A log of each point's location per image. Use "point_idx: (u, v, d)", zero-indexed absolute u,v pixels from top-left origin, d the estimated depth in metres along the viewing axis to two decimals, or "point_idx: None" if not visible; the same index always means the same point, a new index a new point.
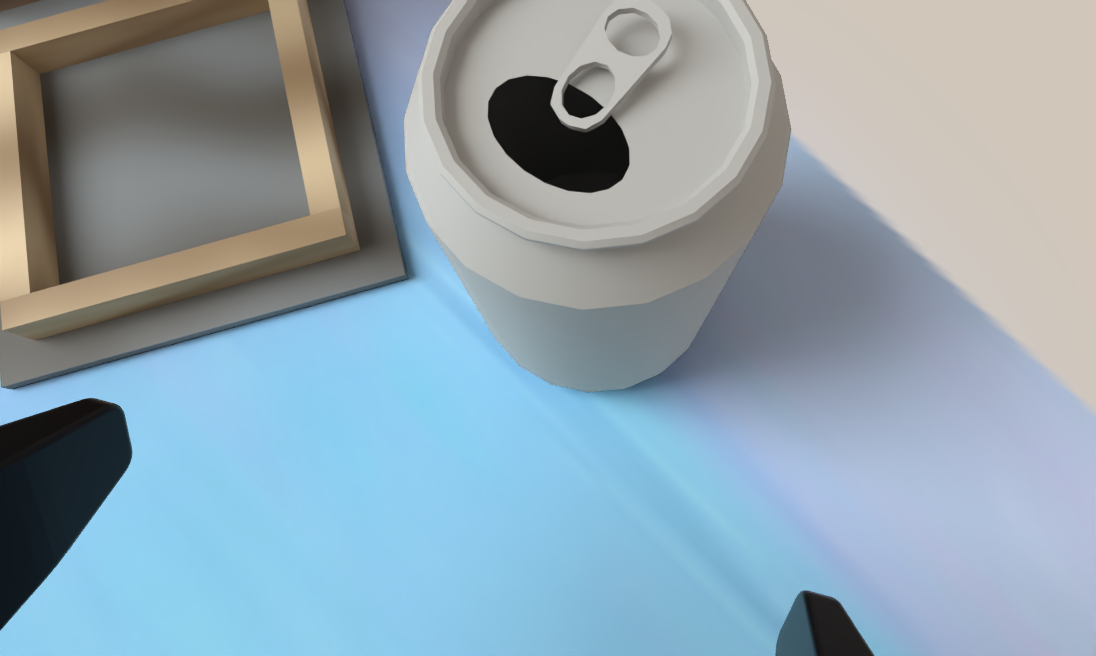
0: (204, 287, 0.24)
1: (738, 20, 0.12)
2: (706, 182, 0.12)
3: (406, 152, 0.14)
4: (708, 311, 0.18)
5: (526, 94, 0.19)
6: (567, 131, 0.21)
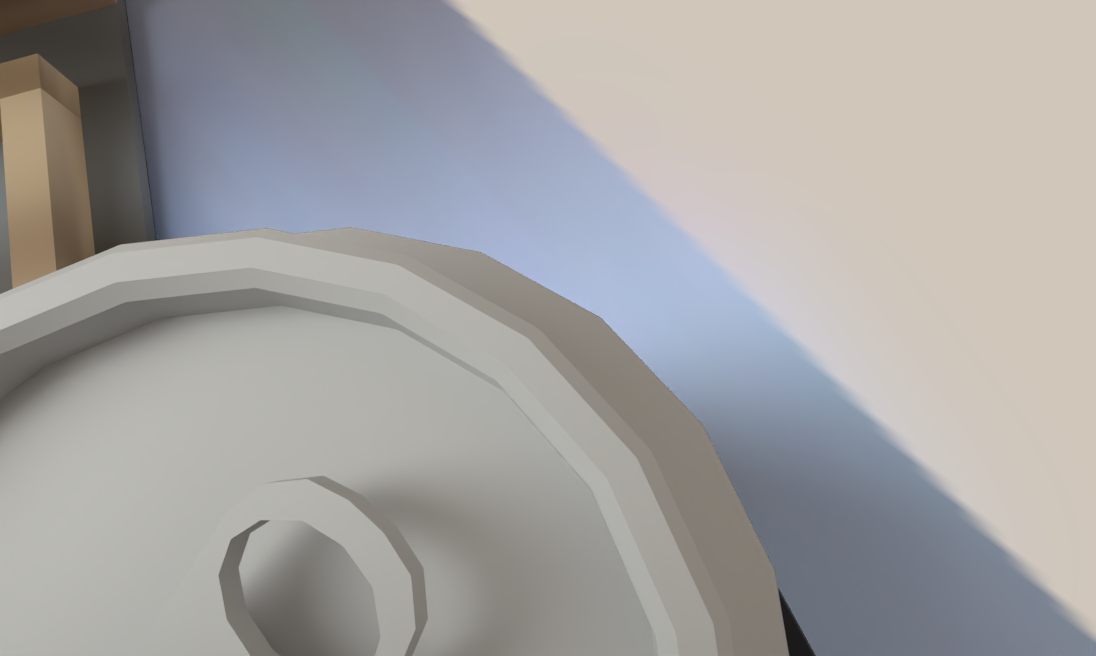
0: None
1: (639, 558, 0.04)
2: None
3: None
4: None
5: None
6: None
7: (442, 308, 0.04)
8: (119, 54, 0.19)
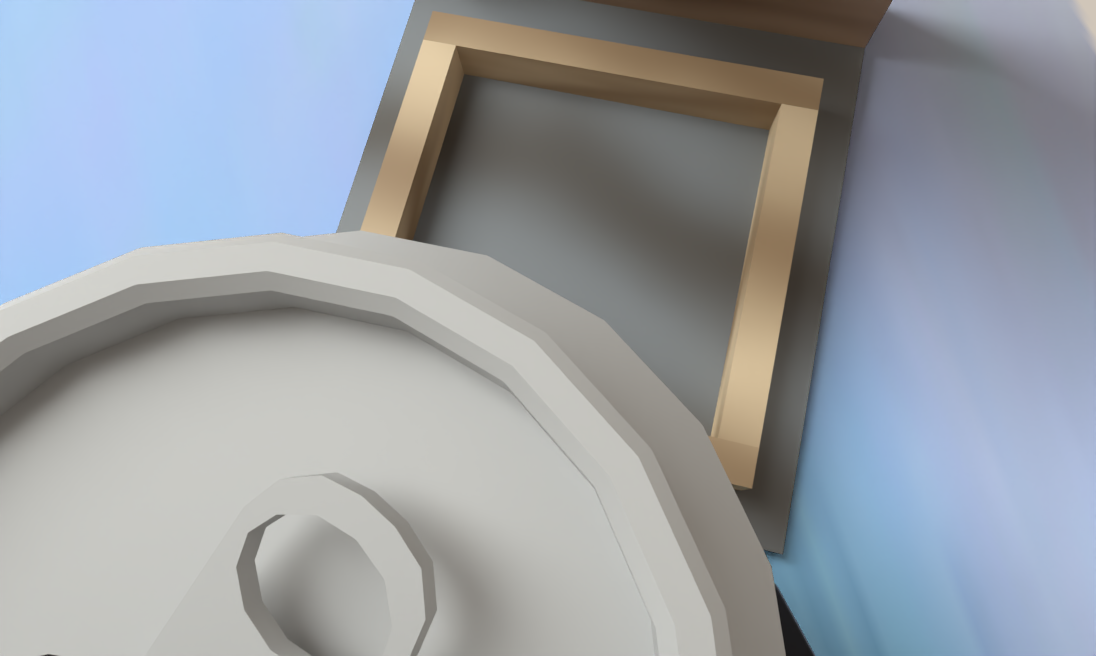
0: None
1: (640, 554, 0.04)
2: None
3: None
4: None
5: None
6: None
7: (451, 311, 0.04)
8: (852, 94, 0.21)
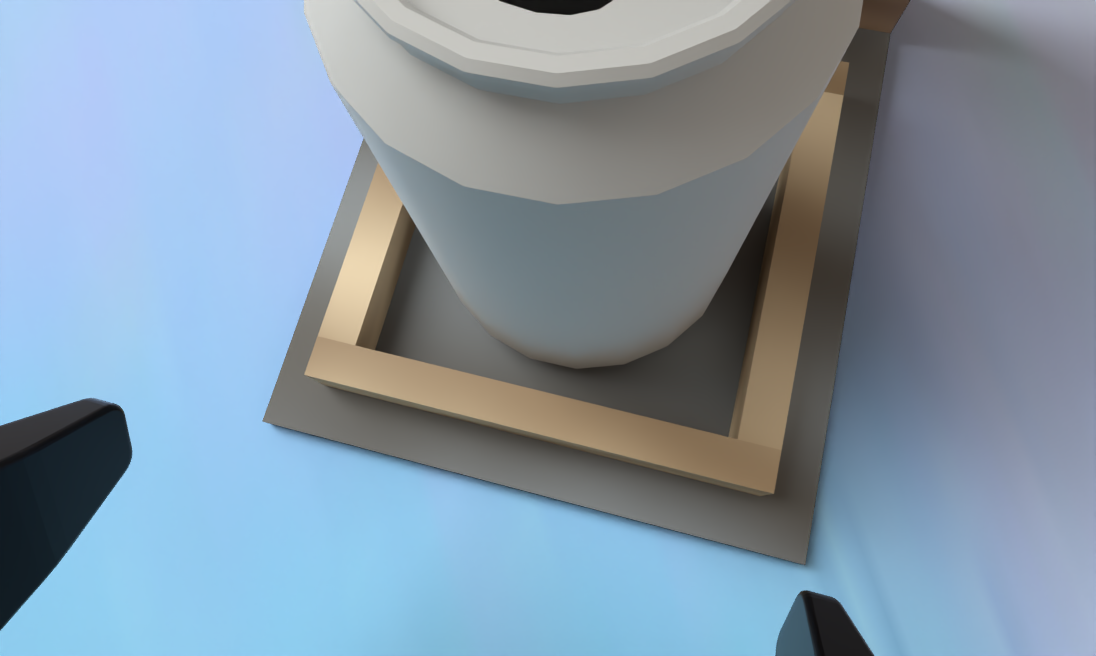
0: (551, 441, 0.18)
1: None
2: None
3: None
4: (734, 251, 0.13)
5: None
6: None
7: None
8: (877, 81, 0.20)
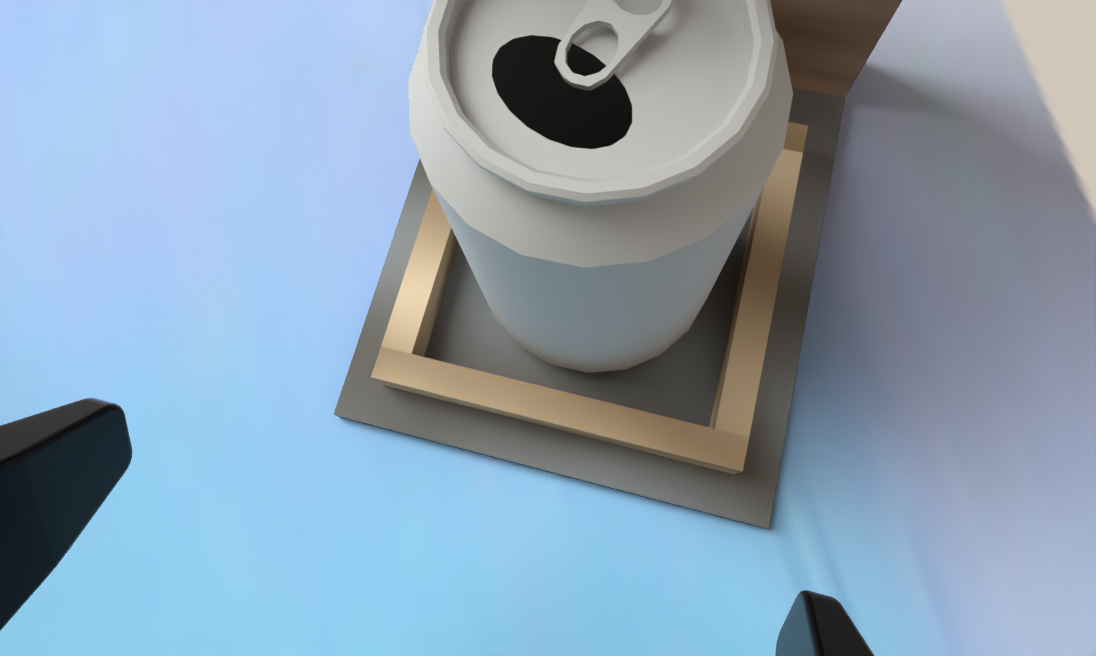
0: (567, 430, 0.22)
1: None
2: (708, 137, 0.12)
3: (410, 113, 0.14)
4: (709, 285, 0.18)
5: (529, 70, 0.19)
6: (570, 111, 0.21)
7: None
8: (833, 137, 0.25)
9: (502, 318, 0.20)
